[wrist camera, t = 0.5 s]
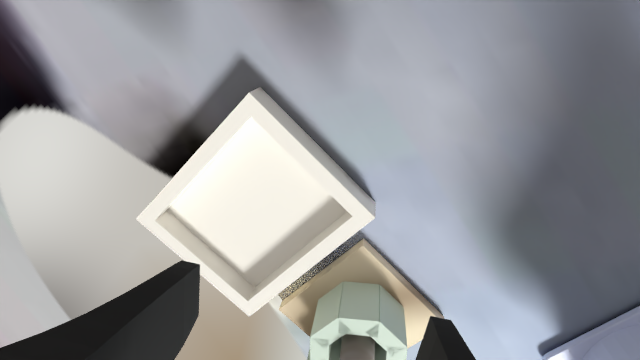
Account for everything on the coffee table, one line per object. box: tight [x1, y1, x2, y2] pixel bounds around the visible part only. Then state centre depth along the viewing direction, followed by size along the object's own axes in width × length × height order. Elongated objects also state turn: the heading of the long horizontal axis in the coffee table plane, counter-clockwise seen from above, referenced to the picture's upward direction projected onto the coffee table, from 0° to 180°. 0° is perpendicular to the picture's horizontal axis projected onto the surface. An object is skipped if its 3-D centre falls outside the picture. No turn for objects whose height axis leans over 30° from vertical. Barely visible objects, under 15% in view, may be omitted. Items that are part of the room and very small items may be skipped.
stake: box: [279, 238, 444, 360], centre depth 21 cm, size 7×7×5 cm
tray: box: [136, 87, 376, 316], centre depth 21 cm, size 9×10×2 cm
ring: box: [307, 281, 407, 360], centre depth 22 cm, size 5×6×3 cm
